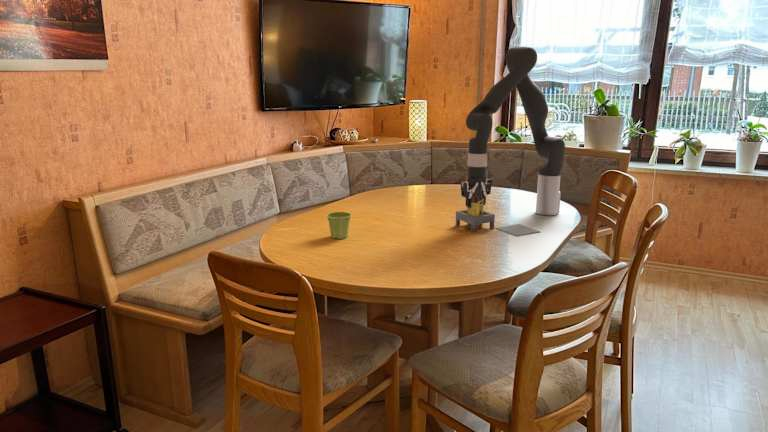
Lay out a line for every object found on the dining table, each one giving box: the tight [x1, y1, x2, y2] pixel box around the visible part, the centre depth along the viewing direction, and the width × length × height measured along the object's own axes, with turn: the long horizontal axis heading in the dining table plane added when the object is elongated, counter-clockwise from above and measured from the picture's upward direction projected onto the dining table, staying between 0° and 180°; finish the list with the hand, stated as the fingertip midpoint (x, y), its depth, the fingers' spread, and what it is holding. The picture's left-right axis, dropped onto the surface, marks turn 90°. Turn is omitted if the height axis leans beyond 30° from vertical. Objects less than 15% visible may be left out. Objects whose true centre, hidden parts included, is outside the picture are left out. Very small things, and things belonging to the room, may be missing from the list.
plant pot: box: [325, 211, 352, 240], centre depth 216 cm, size 9×9×9 cm
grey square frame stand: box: [455, 209, 496, 233], centre depth 230 cm, size 10×11×6 cm
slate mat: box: [495, 223, 541, 237], centre depth 226 cm, size 12×12×1 cm
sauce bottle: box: [466, 179, 484, 230], centre depth 228 cm, size 6×6×20 cm
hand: (475, 206), depth 229 cm, fingers closed on sauce bottle, 6 cm apart
